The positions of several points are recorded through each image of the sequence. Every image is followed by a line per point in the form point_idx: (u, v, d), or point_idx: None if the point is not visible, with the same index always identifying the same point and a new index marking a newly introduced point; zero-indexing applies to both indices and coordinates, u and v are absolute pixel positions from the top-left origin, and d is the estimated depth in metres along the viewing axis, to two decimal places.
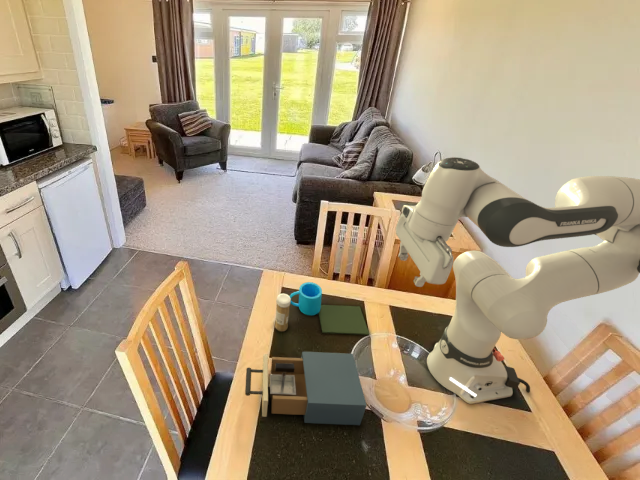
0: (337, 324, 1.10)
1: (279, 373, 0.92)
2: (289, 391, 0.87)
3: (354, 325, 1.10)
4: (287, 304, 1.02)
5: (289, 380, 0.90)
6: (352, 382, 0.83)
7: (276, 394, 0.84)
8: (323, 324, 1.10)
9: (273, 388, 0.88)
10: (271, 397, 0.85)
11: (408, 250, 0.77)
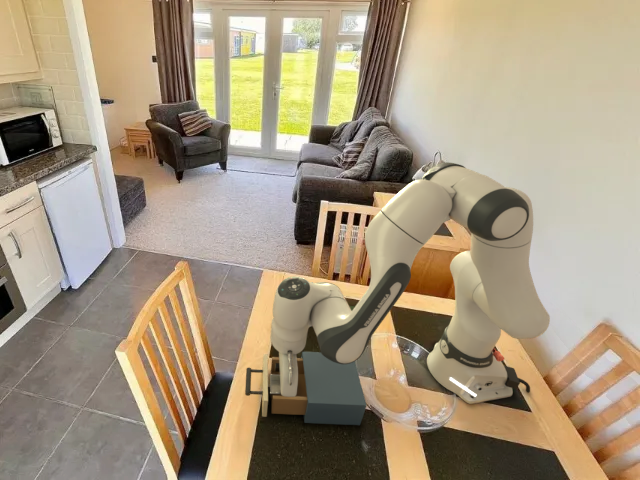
0: None
1: (279, 373, 0.92)
2: None
3: None
4: None
5: None
6: (352, 382, 0.83)
7: (276, 394, 0.84)
8: None
9: (273, 388, 0.88)
10: (271, 397, 0.85)
11: None
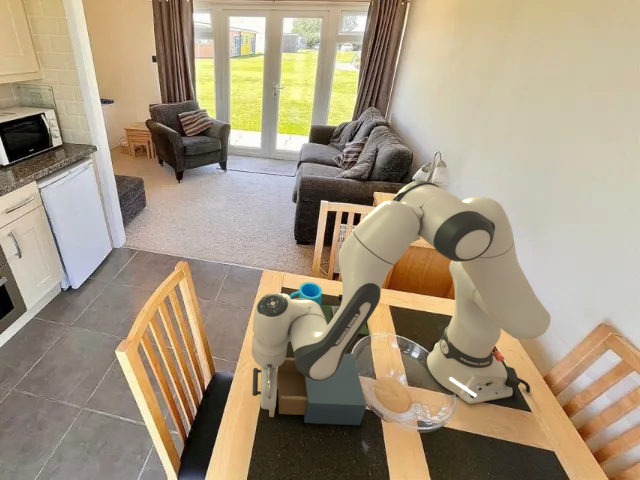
0: None
1: (286, 373, 0.92)
2: None
3: None
4: None
5: None
6: (352, 382, 0.83)
7: None
8: None
9: None
10: None
11: None
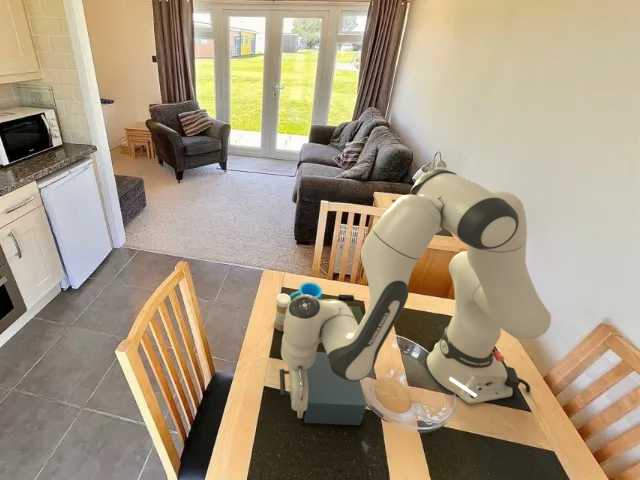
0: None
1: None
2: None
3: None
4: (287, 304, 1.02)
5: None
6: (352, 382, 0.83)
7: None
8: None
9: None
10: None
11: None
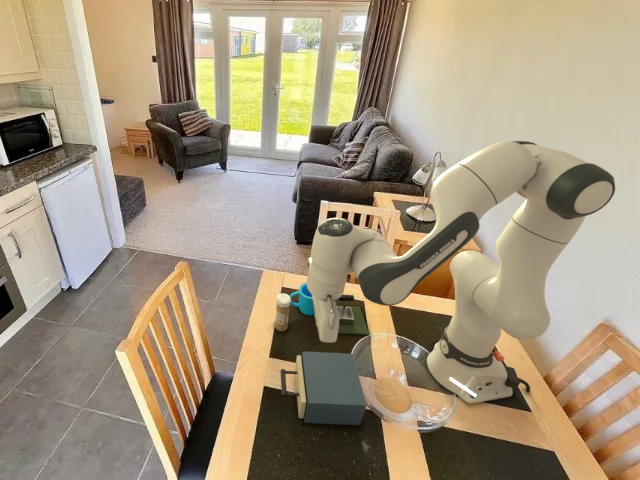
0: None
1: None
2: None
3: (354, 325, 1.10)
4: (287, 304, 1.02)
5: (346, 311, 1.14)
6: (352, 382, 0.83)
7: (339, 319, 1.09)
8: None
9: None
10: None
11: (313, 303, 0.79)
